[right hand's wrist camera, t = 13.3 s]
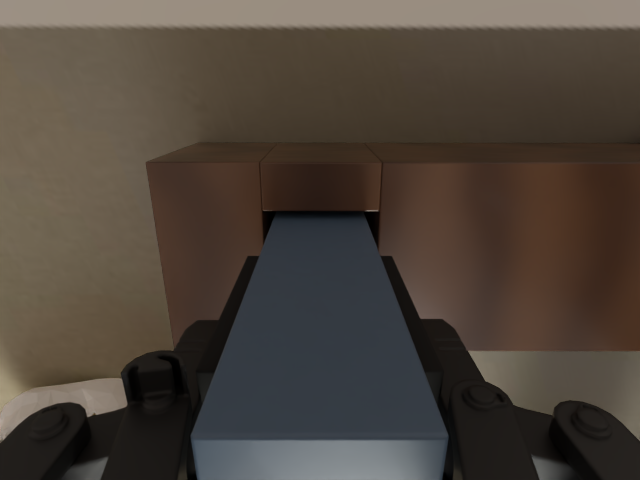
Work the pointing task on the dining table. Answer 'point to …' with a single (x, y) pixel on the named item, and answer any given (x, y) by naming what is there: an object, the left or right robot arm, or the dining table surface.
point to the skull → (64, 400)
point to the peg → (319, 367)
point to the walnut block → (426, 230)
